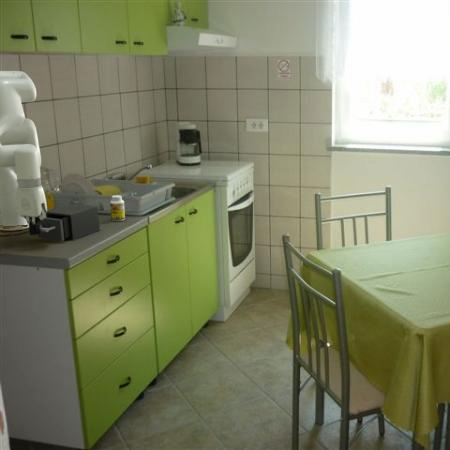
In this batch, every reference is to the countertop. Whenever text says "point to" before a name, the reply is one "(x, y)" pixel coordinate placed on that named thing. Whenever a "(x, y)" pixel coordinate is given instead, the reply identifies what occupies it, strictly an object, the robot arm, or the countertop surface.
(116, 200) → the supplement bottle
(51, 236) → the drawer
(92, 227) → the dark grey box
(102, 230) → the countertop surface
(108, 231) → the countertop surface
